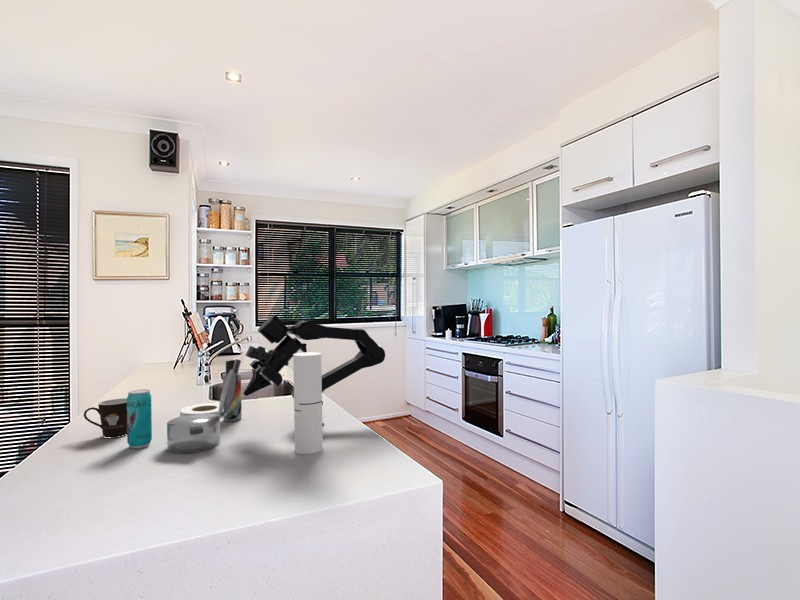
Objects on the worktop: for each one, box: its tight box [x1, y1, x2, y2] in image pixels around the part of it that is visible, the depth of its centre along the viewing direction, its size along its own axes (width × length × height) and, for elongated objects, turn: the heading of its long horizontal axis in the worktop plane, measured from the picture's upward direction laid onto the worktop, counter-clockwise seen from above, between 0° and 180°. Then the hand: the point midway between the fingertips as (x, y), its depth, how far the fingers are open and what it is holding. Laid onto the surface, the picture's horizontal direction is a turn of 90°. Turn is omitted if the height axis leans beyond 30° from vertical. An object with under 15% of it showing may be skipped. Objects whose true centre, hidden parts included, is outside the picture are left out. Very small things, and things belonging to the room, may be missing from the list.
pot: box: [166, 414, 221, 455], centre depth 119 cm, size 13×18×7 cm
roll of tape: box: [179, 402, 223, 418], centre depth 152 cm, size 16×15×3 cm
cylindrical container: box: [292, 351, 324, 455], centre depth 114 cm, size 7×7×25 cm
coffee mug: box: [83, 397, 127, 438], centre depth 130 cm, size 12×9×10 cm
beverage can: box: [126, 389, 153, 450], centre depth 119 cm, size 6×6×15 cm
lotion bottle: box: [222, 359, 243, 422], centre depth 145 cm, size 6×6×20 cm
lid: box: [219, 358, 242, 416], centre depth 124 cm, size 16×13×2 cm
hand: (244, 394), depth 125 cm, fingers closed
